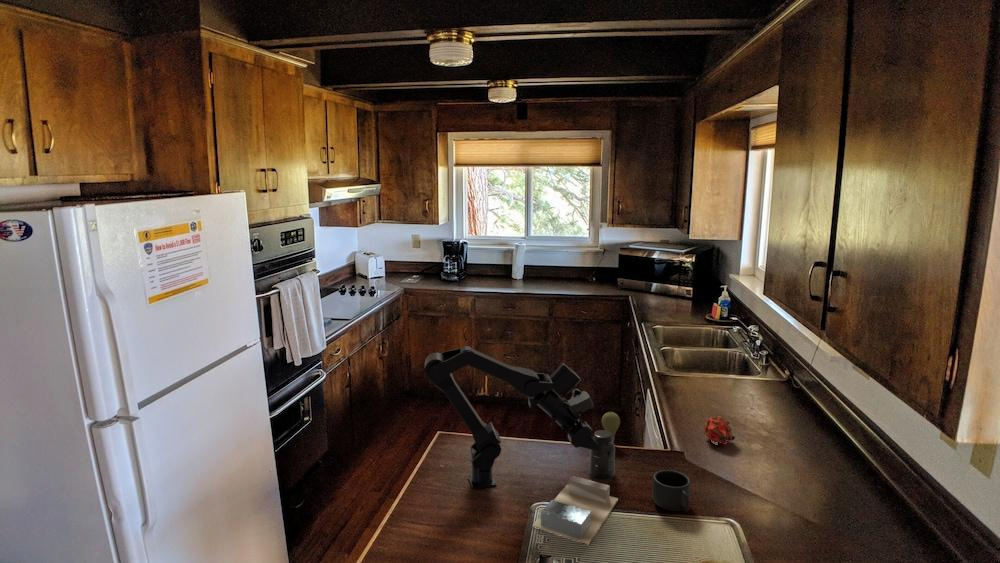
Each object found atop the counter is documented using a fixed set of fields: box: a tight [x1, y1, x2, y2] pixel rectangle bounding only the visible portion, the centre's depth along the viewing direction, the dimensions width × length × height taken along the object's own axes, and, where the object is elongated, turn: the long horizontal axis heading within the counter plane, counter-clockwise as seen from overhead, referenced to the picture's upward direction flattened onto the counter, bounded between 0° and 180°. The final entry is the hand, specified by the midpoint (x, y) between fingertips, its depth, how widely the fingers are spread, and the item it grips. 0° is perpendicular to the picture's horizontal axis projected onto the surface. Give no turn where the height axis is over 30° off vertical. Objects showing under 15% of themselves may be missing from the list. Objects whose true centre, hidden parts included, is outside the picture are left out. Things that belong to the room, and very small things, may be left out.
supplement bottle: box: [588, 429, 616, 481], centre depth 157 cm, size 7×7×12 cm
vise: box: [531, 475, 619, 546], centre depth 139 cm, size 21×14×4 cm, turn 151°
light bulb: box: [601, 411, 621, 443], centre depth 176 cm, size 6×6×10 cm
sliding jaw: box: [540, 499, 591, 538], centre depth 133 cm, size 6×10×4 cm, turn 61°
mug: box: [651, 469, 692, 513], centre depth 141 cm, size 12×9×7 cm
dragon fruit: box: [703, 415, 736, 445], centre depth 177 cm, size 8×8×12 cm
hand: (593, 441), depth 156 cm, fingers open, 9 cm apart
